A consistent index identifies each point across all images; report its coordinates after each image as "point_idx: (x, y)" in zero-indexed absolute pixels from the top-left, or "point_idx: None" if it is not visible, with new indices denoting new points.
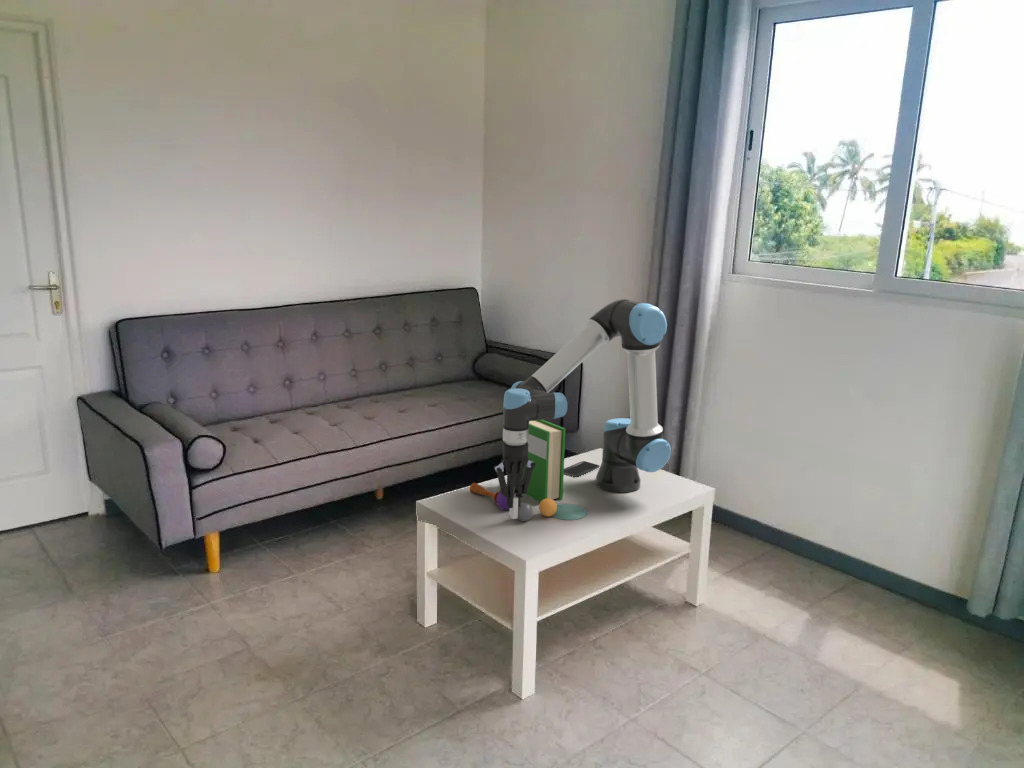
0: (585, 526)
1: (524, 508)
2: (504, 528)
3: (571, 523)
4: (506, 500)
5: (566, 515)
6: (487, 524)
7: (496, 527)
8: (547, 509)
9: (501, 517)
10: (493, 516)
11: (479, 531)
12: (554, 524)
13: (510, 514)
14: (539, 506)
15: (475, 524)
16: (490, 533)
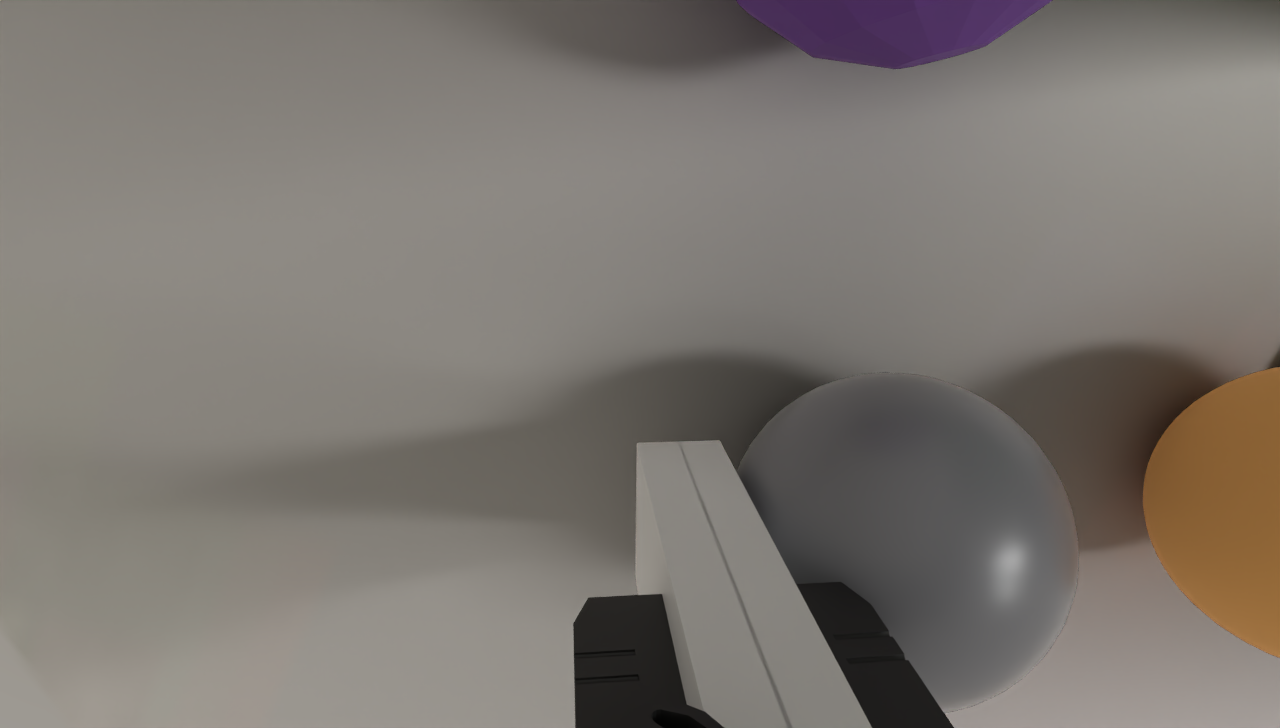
0: None
1: None
2: (451, 602)
3: (1262, 724)
4: (839, 11)
5: None
6: (246, 400)
7: (350, 539)
8: (1245, 640)
9: (574, 240)
10: (460, 143)
11: (45, 575)
12: (1089, 692)
13: (640, 500)
14: (1230, 499)
15: (35, 327)
16: (197, 675)
